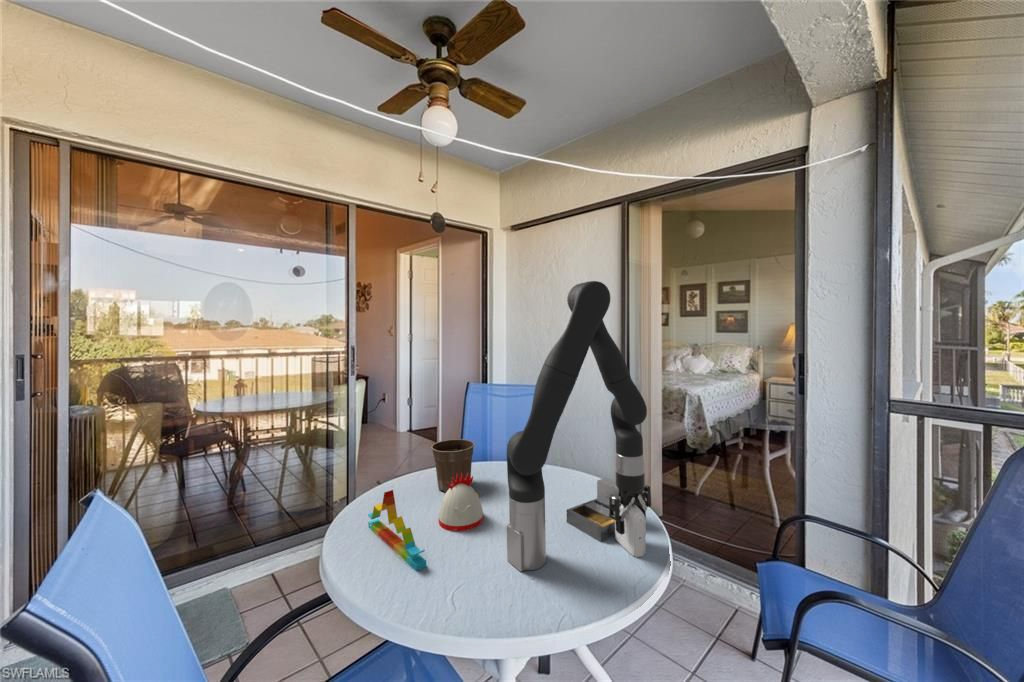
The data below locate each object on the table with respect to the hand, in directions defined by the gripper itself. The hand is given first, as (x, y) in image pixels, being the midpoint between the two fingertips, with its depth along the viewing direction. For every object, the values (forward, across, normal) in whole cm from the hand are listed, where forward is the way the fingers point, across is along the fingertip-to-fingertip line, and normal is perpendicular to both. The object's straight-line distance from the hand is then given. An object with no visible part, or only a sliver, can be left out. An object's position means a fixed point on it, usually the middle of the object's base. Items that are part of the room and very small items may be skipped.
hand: (631, 528), depth 111 cm
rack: (+5, +4, +14) cm, 15 cm away
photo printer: (+6, 0, 0) cm, 6 cm away
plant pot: (+5, -21, +67) cm, 70 cm away
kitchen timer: (+5, -30, +42) cm, 52 cm away
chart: (+5, -52, +40) cm, 66 cm away
